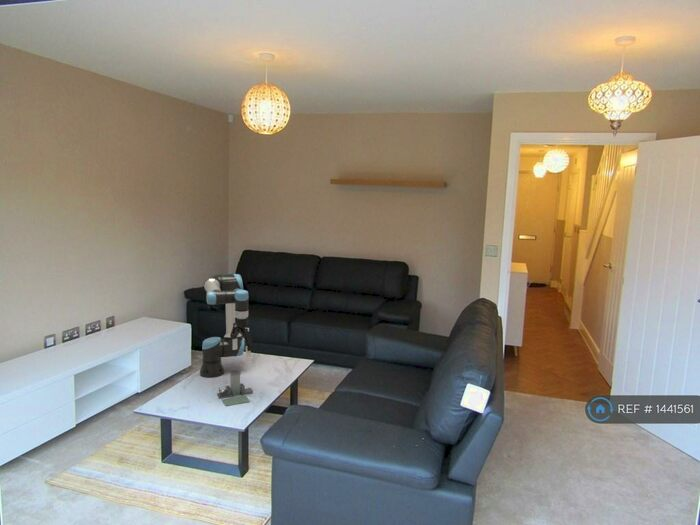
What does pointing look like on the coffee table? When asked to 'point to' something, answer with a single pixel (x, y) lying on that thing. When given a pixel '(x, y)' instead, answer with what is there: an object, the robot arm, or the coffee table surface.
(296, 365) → the coffee table surface
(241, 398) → the mat
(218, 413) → the coffee table surface
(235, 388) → the bar
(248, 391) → the silver metal blocks
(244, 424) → the coffee table surface
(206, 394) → the coffee table surface
